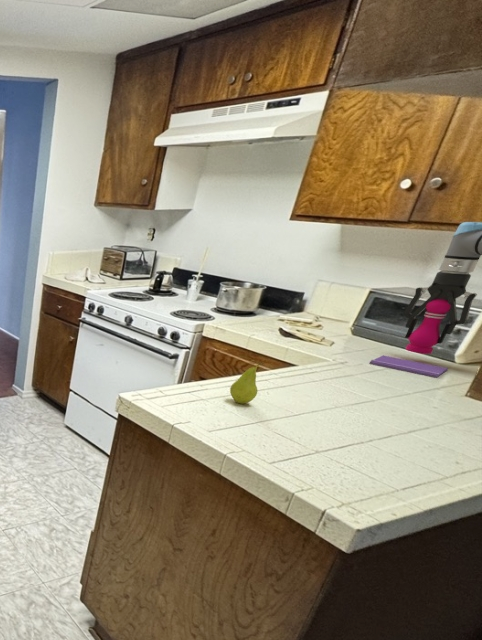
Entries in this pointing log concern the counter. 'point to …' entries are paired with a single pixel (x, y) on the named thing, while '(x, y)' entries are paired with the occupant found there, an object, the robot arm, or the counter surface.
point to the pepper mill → (429, 327)
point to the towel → (409, 366)
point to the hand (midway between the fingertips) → (423, 339)
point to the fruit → (245, 386)
